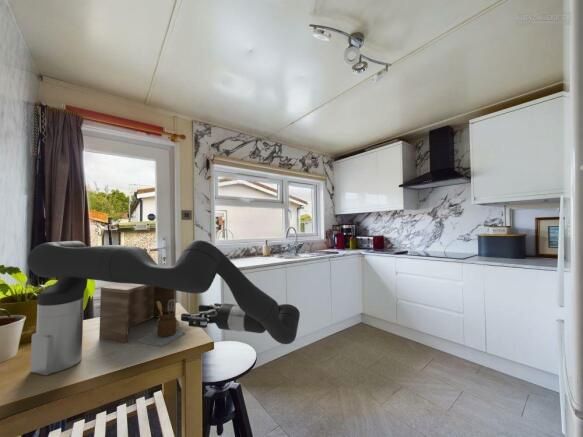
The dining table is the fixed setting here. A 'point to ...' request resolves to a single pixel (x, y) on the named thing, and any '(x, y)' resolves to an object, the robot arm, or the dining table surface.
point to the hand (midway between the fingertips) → (190, 312)
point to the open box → (130, 308)
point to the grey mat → (160, 338)
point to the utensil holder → (166, 322)
